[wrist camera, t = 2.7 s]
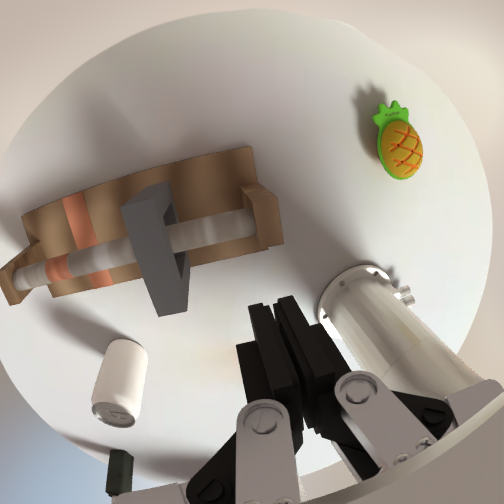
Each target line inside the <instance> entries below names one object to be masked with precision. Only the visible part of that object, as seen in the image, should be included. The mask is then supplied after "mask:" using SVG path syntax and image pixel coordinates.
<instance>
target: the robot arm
mask: <svg viewBox="0 0 504 504" xmlns="http://www.w3.org/2000/svg"><path fill="white" fill-rule="evenodd" d="M407 294H410V287H409V286H404V287H401V288H400V289H396V288H394V287H393V286H392V284H391V280H390V278H389V277H388V275H387V274H386V273H385V272H384V271H383V270H381V269H380V268H378V267H376V266H373V265H359V266H356V267H352V268H350V269H348V270H346V271H344V272H343V273H341V274H340V275H339V276H337V277H336V278H335V279H334V280H333V281H332V282H331V283H330V284H329V286H328V287H327V288H326V290H325V291H324V293H323V295H322V297H321V299H320V302H319V306H318V320H319V323H318V324H315V325H311V326H310V325H309V324H308V322H307V320H306V318H305V317H304V315H303V313H302V311H301V309H300V308H299V306H298V304H297V302H296V301H295V299H294V297H293V296H292V295H291V296H287V297H283V298H279V299H278V303H275V304H273V309H274V315H275V319H274V316H273V314H272V311H271V309H270V306H269V305H267V306H263V303H259V304H254V305H250V306H248V310H249V314H250V319H251V323H252V327H253V332H254V336H255V341H251V342H246V343H242V344H238V345H236V349H237V354H238V359H239V364H240V369H241V374H242V379H243V384H244V389H245V394H246V399H247V403H248V404H247V405H246V406H245V407H244V408H242V409H241V411H240V413H239V414H238V417H237V427H236V432H235V433H234V434H233V435H232V437H231V438H230V439H229V440H228V441H227V442H226V443H225V444H224V445H223V446H222V448H221V449H220V450H219V451H218V452H217V453H216V454H215V455H214V456H213V457H212V458H211V459H210V460H209V461H208V462H207V463H206V464H205V465H204V466H203V467H202V468H201V469H200V470H199V471H198V472H197V473H196V474H195V475H194V476H193V477H192V478H191V480H190V481H189V482H185V483H181V484H179V483H173V484H169V485H164V486H160V487H155V488H150V489H145V490H139V491H133V492H127V493H123V494H120V495H119V496H117V497H116V498H115V500H114V502H113V504H504V389H503V388H502V386H501V385H500V384H499V383H498V382H497V381H495V380H491V379H488V380H484V379H483V378H481V377H480V376H479V375H478V374H476V373H475V372H474V371H472V370H471V369H470V368H469V367H468V366H467V365H466V364H465V363H464V362H463V361H462V360H461V359H460V358H459V357H458V356H457V355H456V354H455V353H454V352H452V350H451V349H450V348H449V347H448V346H447V345H446V344H445V343H444V342H443V341H442V340H441V339H440V338H439V337H438V336H437V335H436V334H435V333H434V332H433V331H432V330H430V329H429V328H428V327H427V326H426V325H425V324H424V323H423V322H422V321H421V320H420V319H419V318H418V317H417V316H416V315H415V314H414V313H413V312H412V311H411V310H410V309H409V308H411V307H413V306H414V305H415V300H414V297H413V296H412V295H409V296H407V297H404V298H402V299H401V300H399V298H400V297H401V296H405V295H407ZM330 336H331V337H333V338H337V339H342V340H343V341H344V343H345V344H346V346H347V348H348V349H349V351H350V352H351V354H352V355H353V357H354V358H355V360H356V361H357V363H358V364H359V366H360V368H361V369H362V371H360V370H359V371H351V369H350V368H349V366H348V364H347V363H346V361H345V360H344V358H343V356H342V355H341V353H340V351H339V350H338V348H337V347H336V345H335V343H334V342H333V340H332V338H331V337H330ZM303 417H304V420H305V423H306V425H307V427H308V429H310V428H314V431H315V433H316V434H319V433H320V434H321V437H322V438H325V439H328V440H331V443H332V445H333V446H334V448H335V449H336V451H337V452H338V454H339V455H340V457H341V458H342V460H343V461H344V463H345V464H346V466H347V467H348V469H349V470H350V472H351V473H352V475H353V476H354V477H355V479H356V483H355V485H353V486H350V487H348V488H345V489H342V490H340V491H337V492H334V493H331V494H328V495H325V496H322V497H319V498H316V499H312V500H309V501H305V502H302V503H301V500H300V491H299V483H298V475H297V467H296V459H295V455H296V453H297V452H298V450H299V449H300V447H301V446H302V444H303V434H302V431H303V430H304V424H303Z"/></svg>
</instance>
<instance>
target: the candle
mask: <svg viewBox="0 0 504 504" xmlns="http://www.w3.org/2000/svg"><path fill="white" fill-rule="evenodd" d="M133 462H134V457H133V456H131V455H130V454H129V453H128V452H126V451H124V450H111V451H110V458H109V465H108V474H107V482H106V493H108V494H109V496H110V497H112V504H113V502H114V500H115V498H116V497H117V496H119V495H120V494H123V493H127V492H132V475H133Z"/></svg>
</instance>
